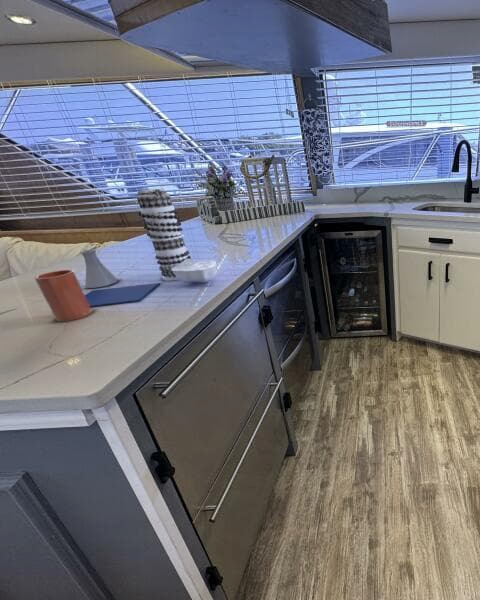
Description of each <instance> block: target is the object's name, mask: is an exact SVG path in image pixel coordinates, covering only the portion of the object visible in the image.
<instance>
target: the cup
mask: <svg viewBox="0 0 480 600" xmlns="http://www.w3.org/2000/svg"><path fill="white" fill-rule="evenodd" d="M33 279H34V281H35V283H36V284H37V286H38V288H39V290H40V293H41V294H42V296H43V298H44V300H45V302H46V304H47V306H48V308H49V309H50V312H51V314H52V315H53V317H54V319H55V320H56V321H57V322H60V323H61V322H70V321H74V320H78V319H81V318H85V317H87V316H89V315H90V314H92V313H93V310H92V307H90V305H89V303H88V301H87V298H86V296H85V295H86V294H85V292H84V289H83V288H82V285H81V283H80V281H79V279H78V277H77V275H76V273H75V271H74V270H73V269H59V270H54V271H50V272H45V273H41V274H39V275H36V276H35V277H34V278H33Z"/></svg>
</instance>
